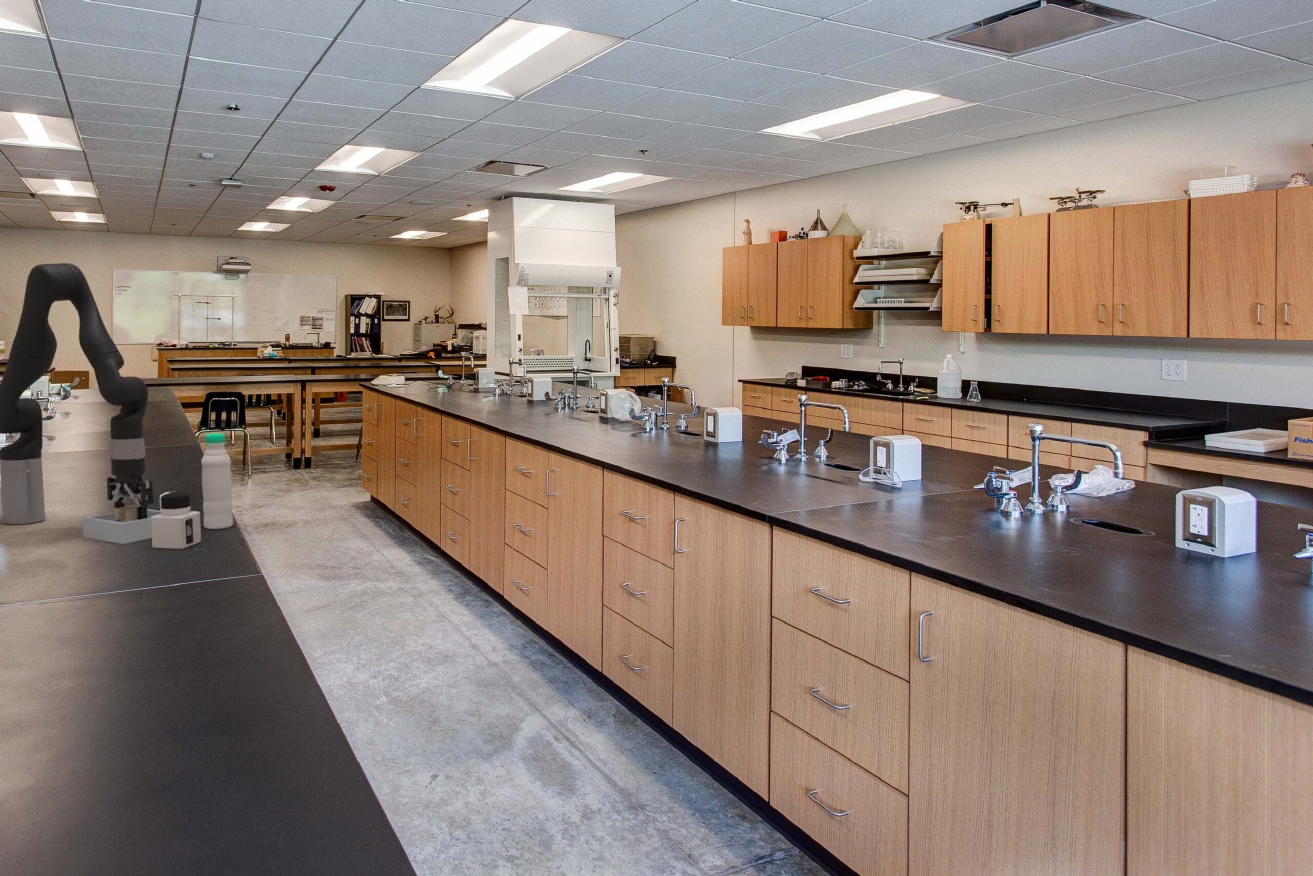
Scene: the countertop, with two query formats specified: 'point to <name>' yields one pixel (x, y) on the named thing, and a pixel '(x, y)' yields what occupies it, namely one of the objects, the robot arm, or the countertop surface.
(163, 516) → the container
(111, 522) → the gray bin
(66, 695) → the countertop surface
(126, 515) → the maple block
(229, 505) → the water bottle
